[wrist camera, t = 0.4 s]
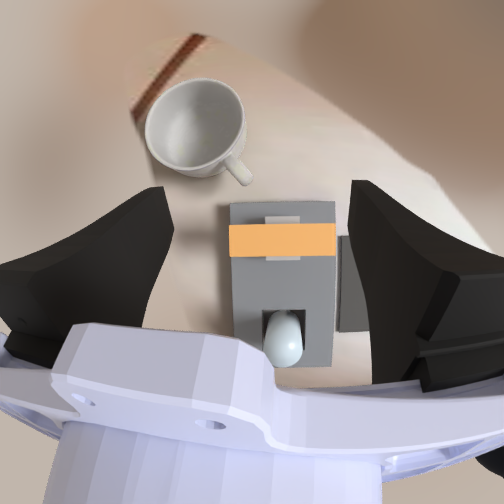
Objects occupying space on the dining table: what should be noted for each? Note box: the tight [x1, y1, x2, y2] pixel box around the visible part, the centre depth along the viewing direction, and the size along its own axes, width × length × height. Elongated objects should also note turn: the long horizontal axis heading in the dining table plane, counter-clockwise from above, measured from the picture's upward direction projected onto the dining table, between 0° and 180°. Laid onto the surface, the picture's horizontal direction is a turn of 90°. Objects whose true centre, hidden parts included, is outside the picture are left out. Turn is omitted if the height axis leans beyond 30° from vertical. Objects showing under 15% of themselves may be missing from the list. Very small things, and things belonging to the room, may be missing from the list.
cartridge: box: [263, 310, 303, 367], centre depth 34 cm, size 4×4×8 cm
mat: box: [339, 236, 369, 333], centre depth 35 cm, size 12×12×1 cm
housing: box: [230, 201, 336, 368], centre depth 35 cm, size 20×12×5 cm, turn 1°
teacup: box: [145, 78, 254, 186], centre depth 33 cm, size 14×11×8 cm
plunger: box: [229, 223, 336, 257], centre depth 30 cm, size 3×10×4 cm, turn 91°
